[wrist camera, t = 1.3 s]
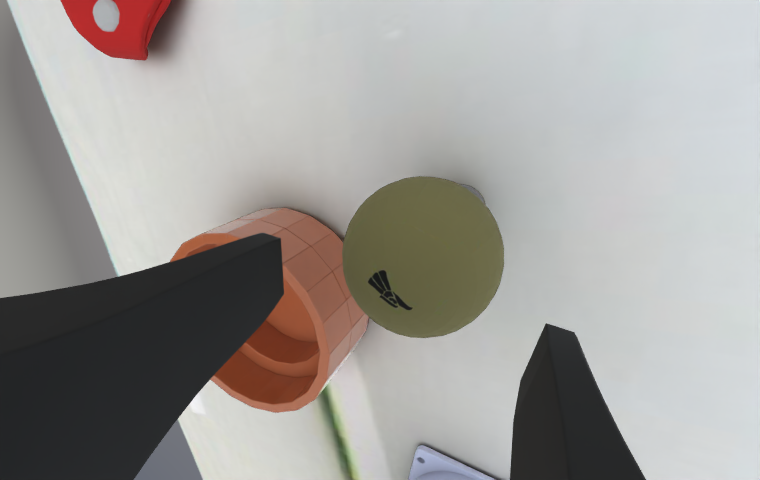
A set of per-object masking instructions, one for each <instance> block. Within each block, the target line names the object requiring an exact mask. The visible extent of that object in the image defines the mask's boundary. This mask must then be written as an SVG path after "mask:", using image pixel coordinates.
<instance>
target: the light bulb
mask: <svg viewBox="0 0 760 480" xmlns="http://www.w3.org/2000/svg"><path fill="white" fill-rule="evenodd" d="M342 260H343V272H344V276H345V280H346V284H347V286H348V289H349V291H350V293H351V295H352V297H353V298H354V300H355V302H356V303H357V305H358V306H359V307H360V308H361V309H362V310H363V312H364V313H365V314H366V315H367V316H368V317H370V318H371V319H372V320H373V321H374V322H376V323H377V324H379V325H380V326H382V327H384V328H385V329H387V330H389V331H392V332H394V333H397V334H399V335H404V336H408V337H416V338H428V337H436V336H443V335H446V334H449V333H452V332H455V331H457V330H459V329H461V328H462V327H464V326H466V325H467V324H469V323H471V322H472V321H473V320H474V319H476V318H477V317H478V316H479V315H480V314H481V313H482V312H483V311H484V310H485V309H486V307H487V306H488V305H489V303H490V301H491V300H492V298H493V297H494V295H495V293H496V291H497V289H498V287H499V284H500V281H501V276H502V272H503V267H504V246H503V241H502V237H501V234H500V231H499V228H498V225H497V223H496V221H495V219H494V217H493V216H492V214H491V212H490V210H489V209H488V208H487V207H486V205H485V201H484V199H483V197H482V195H481V194H480V193H479V192H478V191H477V190H476V189H474V188H473V187H471V186H468V185H462V184H457V183H455V182H452V181H449V180H446V179H441V178H435V177H422V176H419V177H411V178H404V179H402V180H399V181H396V182H393V183H391V184H388V185H386V186H384V187H382V188H380V189H379V190H378V191H376V192H375V193H374V194H373V195H371V196H370V197H369V198H368V199H366V200H365V202H364V203H363V204H362V205H361V206H360V207H359V209H358V210H357V212H356V213H355V215H354V217H353V218H352V220H351V221H350V224H349V226H348V229H347V232H346V235H345V238H344V242H343V250H342Z"/></svg>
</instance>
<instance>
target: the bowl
mask: <svg viewBox="0 0 760 480" xmlns="http://www.w3.org/2000/svg"><path fill="white" fill-rule="evenodd" d="M259 233H266V234H269V235H273V236H276V237H279V238H281V249H282V265H283V282H284V295H283V296H282V298H281V299H280V301H279V302H278V303H277V305H276V306H275V308H274V309H273V311H272V312H271V313H270V315H269V316H268V317H267V319H266V320H265V321H264V322H263V324H262V325H261V326H260V327H259V328H258V329H257V330H256V331H255V332H254V333H253V334H252V336H251V337H250V338H249V339H248V340H247V341H246V342H245V343H244V344H243V345H242V346H241V347H240V348H239V349H238V350H237V351H236V352H235V354H234V355H233V356H232V357H231V358H230V359H229V360H228V361H227V362H226V363H225V364H224V365H223V366H222V367H221V368H220V369H219V370H218V371H217V372H216V373H215V375H214V376H213V377H212V378H211V379H210V380H212V381H213V382H214V383H215V384H216V385H218V386H219V387H220V388H221V389H223V390H224V391H225V392H226V393H228V394H229V395H230V396H232V397H234V398H236V399H238V400H239V401H241V402H243V403H245V404H247V405H249V406H251V407H254V408H257V409H262V410H266V411H271V412H275V413H276V412H277V413H278V412H286V411H295V410H299V409H300V408H302V407H304V406H305V405H307V404H309V403H310V402H312V401H314V400H315V399H316V398H317V397H318V396H319V394H320V393H321V392H322V390H323V389H324V388H325V387H326V385H327V384H328V383H329V381H330V380H331V379H332V378H333V376H334V375H335V374H336V372H337V371H338V370H339V369H340V367H341V366H342V365H343V363H344V362H345V361H346V360H347V358H348V357H349V356H350V354H351V353H352V352H353V351H354V349H355V348H356V346H357V345H358V343H359V342H360V340H361V338H362V337H363V335H364V333H365V332H366V330H367V324H368V316H367V315H366V314H365V313H364V312H363V310H362V309H361V308H360V307H359V306H358V305H357V303H356V302H355V300H354V298H353V297H352V295H351V293H350V291H349V289H348V286H347V284H346V280H345V276H344V272H343V260H342V250H343V242H342V241H341V239H340V238H339V237H338V236H337V235H336V234H335V232H333V231H332V230H331V229H329V228H328V227H326V226H325V225H323V224H322V223H320V222H319V221H317V220H316V219H314V218H313V217H312V216H310V215H307V214H304V213H301V212H297V211H294V210H291V209H288V208H274V209H261V210H259V211H256V212H254V213H251V214H249V215H247V216H244V217H242V218H239V219H237V220H234V221H232V222H229V223H227V224H224V225H222V226H219V227H217V228H214V229H212V230H209V231H207V232H204V233H202V234H200V235H198V236H196V237H194V238H192V239H190V240H188V241H186V242H184V243H183V244H182V245H181V246H180V248H179V249H178V251H177V252H176V253H175V255H174V256H173V258H172V259H171V261H170V262H172V261H175V260H179V259H182V258H185V257H188V256H191V255H194V254H197V253H200V252H203V251H206V250H209V249H212V248H215V247H218V246H221V245H224V244H227V243H230V242H233V241H236V240H239V239H242V238H245V237H248V236H251V235H255V234H259Z"/></svg>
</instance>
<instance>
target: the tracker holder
mask: <svg viewBox="0 0 760 480" xmlns="http://www.w3.org/2000/svg"><path fill="white" fill-rule="evenodd" d="M61 2H62V4H63V6H64V9H65V11H66V13H67V15H68V17H69V19H70V20H71V22H72V24H73V26H74V27H75V28H76V30H77V31H78V32H79V33H80V34H81V35H82V36H83V37H84V38H85V39H86V40H87V41H88V42H89V43H91V44H92V45H93V46H94V47H95V48H96V49H98V50H100V51H101V52H103V53H104V54H106V55H108V56H110V57H114V58H124V59H134V60H146V59H147V57H148V50H147V46H148V44H149V42H150V39H151V36H152V33H153V31H154V29H155V27H156V25H157V23H158V21H159V20H160V18H161V17H162V16H163V14H164V13H165V11H166V10H167V8H168V6H169V4H170V2H171V0H61Z"/></svg>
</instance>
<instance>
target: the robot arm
mask: <svg viewBox="0 0 760 480" xmlns="http://www.w3.org/2000/svg"><path fill="white" fill-rule="evenodd" d="M283 295H284V282H283V265H282V249H281V238H279V237H276V236H273V235H269V234H266V233H259V234H255V235H251V236H248V237H245V238H242V239H239V240H236V241H233V242H230V243H227V244H224V245H221V246H218V247H215V248H212V249H209V250H206V251H203V252H200V253H197V254H194V255H191V256H188V257H185V258H182V259H179V260H175V261H172V262H169V263H165V264H162V265H159V266H156V267H152V268H149V269H146V270H142V271H139V272H135V273H131V274H127V275H124V276H120V277H115V278H111V279H107V280H102V281H98V282H94V283H89V284H84V285H79V286H73V287H68V288H62V289H56V290H51V291H45V292H40V293H34V294H27V295H20V296H13V297H6V298H0V480H133V479H134V478H135V477H136V475H137V474H138V472H139V471H140V470H141V468H142V467H143V465H144V464H145V462H146V461H147V459H148V458H149V456H150V455H151V454H152V453H153V451H154V450H155V448H156V447H157V446H158V444H159V443H160V442H161V440H162V439H163V438H164V436H165V435H166V433H167V432H168V431H169V429H170V428H171V427H172V425H173V424H174V423H175V421H176V420H177V419H178V418H179V416H180V415H181V414H182V413H183V411H184V410H185V409H186V407H187V406H188V405H189V404H190V402H191V401H192V400H193V398H194V397H195V396H196V395H197V393H198V392H199V391H200V390H201V389H202V388H203V387H204V385H205V384H206V383H207V382H208V381H209V380H210V379H211V378H212V377H213V376H214V375H215V373H216V372H217V371H218V370H219V369H220V368H221V367H222V366H223V365H224V364H225V363H226V362H227V361H228V360H229V359H230V358H231V357H232V356H233V355H234V354H235V352H236V351H237V350H238V349H239V348H240V347H241V346H242V345H243V344H244V343H245V342H246V341H247V340H248V339H249V338H250V337H251V336H252V334H253V333H254V332H255V331H256V330H257V329H258V328H259V327H260V326H261V325H262V324H263V322H264V321H265V320H266V319H267V317H268V316H269V315H270V313H271V312H272V311H273V309H274V308H275V306H276V305H277V303H278V302H279V301H280V299H281V298H282V296H283ZM408 480H495V479H493V478H491V477H489V476H487V475H485V474H483V473H481V472H479V471H477V470H474V469H472V468H470V467H468V466H466V465H464V464H462V463H460V462H458V461H455V460H453V459H451V458H449V457H447V456H445V455H443V454H441V453H439V452H436V451H434V450H432V449H430V448H428V447H426V446H423V445H420V446H418V447H417V449H416V452H415V456H414V459H413V463H412V467H411V471H410V474H409V478H408ZM510 480H646V479H645V477H644V475H643V474H642V472H641V470H640V468H639V466H638V464H637V463H636V461H635V459H634V457H633V455H632V454H631V452H630V450H629V448H628V446H627V445H626V443H625V441H624V439H623V437H622V435H621V433H620V431H619V429H618V427H617V425H616V423H615V421H614V419H613V417H612V415H611V413H610V411H609V409H608V407H607V405H606V403H605V401H604V399H603V397H602V394H601V392H600V390H599V388H598V386H597V384H596V381H595V379H594V377H593V374H592V372H591V370H590V368H589V365H588V363H587V361H586V358H585V356H584V353H583V351H582V348H581V346H580V343H579V341H578V339H577V337H576V335H575V333H574V332H571V331H568V330H565V329H562V328H559V327H556V326H553V325H550V324H547V323H546V324H545V327H544V329H543V331H542V333H541V336H540V338H539V340H538V342H537V345H536V347H535V349H534V351H533V354H532V356H531V358H530V360H529V363H528V365H527V367H526V369H525V372H524V374H523V376H522V378H521V381H520V387H519V392H518V398H517V403H516V409H515V415H514V422H513V438H512V454H511V473H510Z"/></svg>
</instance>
